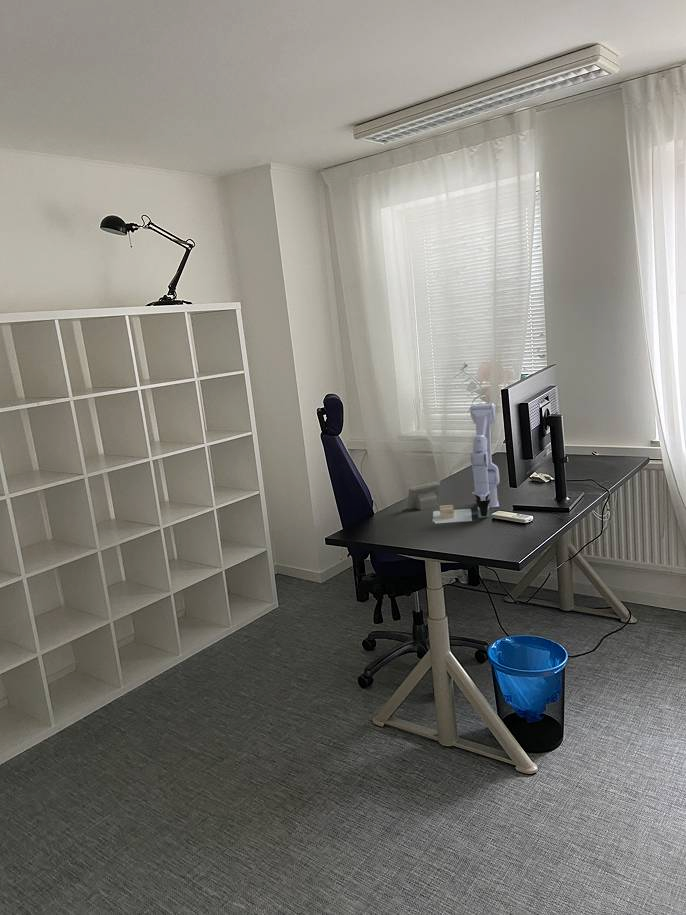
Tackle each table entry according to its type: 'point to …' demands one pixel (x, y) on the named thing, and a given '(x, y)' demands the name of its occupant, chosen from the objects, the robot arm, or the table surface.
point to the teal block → (483, 516)
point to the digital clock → (424, 496)
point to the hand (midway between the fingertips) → (483, 513)
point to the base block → (446, 511)
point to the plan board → (459, 516)
